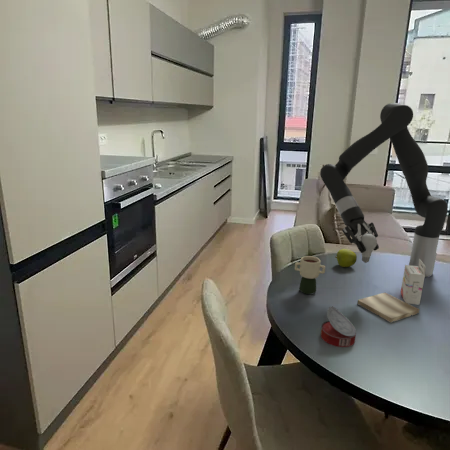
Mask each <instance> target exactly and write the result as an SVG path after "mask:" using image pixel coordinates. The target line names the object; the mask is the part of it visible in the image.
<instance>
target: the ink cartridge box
mask: <svg viewBox="0 0 450 450" xmlns="http://www.w3.org/2000/svg"><path fill="white" fill-rule="evenodd" d="M421 265H422V266H423V268H422V266H421ZM425 268H426V267H425V265H424V264H423V262H422V261H421V260H420V259H419V266H411V265H409V264H405V265H404V271H403V278H402V282H401V287H400V288H401V289H400V295H401V297H402V299H403V302H405V303H408V304H410V305H418V306H419V305H421V298H422V294H423V286H424V283H425V282H424V281H425V278H426V277H425Z"/></svg>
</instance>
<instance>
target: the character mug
mask: <svg viewBox="0 0 450 450" xmlns="http://www.w3.org/2000/svg"><path fill="white" fill-rule="evenodd" d="M321 262H322V261H321V259H320V258H319V257H317V256H311V255H306V256H302V257H300V262H298V261H296V262H295V264H294V271H296V272H299V275H300V276H301V279H300V283H299V287H298V289H299V291H300V292H301V293H303V294H307V295H311V294H312V295H313V294H315V293H316V292H317V278H318V277H319V276H320V274H321V275H324V274H325V272H326V266H325V265H323V264H321ZM298 266H299V268H298Z"/></svg>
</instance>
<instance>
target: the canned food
mask: <svg viewBox="0 0 450 450" xmlns="http://www.w3.org/2000/svg"><path fill="white" fill-rule="evenodd" d="M326 313H327V314H326V315H327V316H326V317H327V319H328V320H326V321H325V322H323V323H322V324H321V331H320V338H321V339H322V340H323V341H324V342H325V343H327V344H328V345H330V346H332V347H337V348H349V347H351V346H353V345H354V344H355V342H356V334H357V330H356V327H355V326H354V325H353V323H352V322H351V321H350V319H348V318H347V317H346V316H345V315H344V314H343V313H342V312H341V311H339V310H338V309H337V308H336V307H334V306H329V307H328V309H327V312H326Z"/></svg>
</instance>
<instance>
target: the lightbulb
mask: <svg viewBox="0 0 450 450" xmlns="http://www.w3.org/2000/svg"><path fill="white" fill-rule="evenodd" d="M360 237H361V241H362V243H363V245H364V246H365V248H366V251H365V252H364V253H361V261H362V262H363V263H364V264H367V263H369V262H370V259H371V256H372V253H373V251H374V248H375V247H376V245H377V244H378V239H377V237H375V236H374V234H373V235H372V234H367V233H365V234H364V235H361V236H360Z"/></svg>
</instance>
